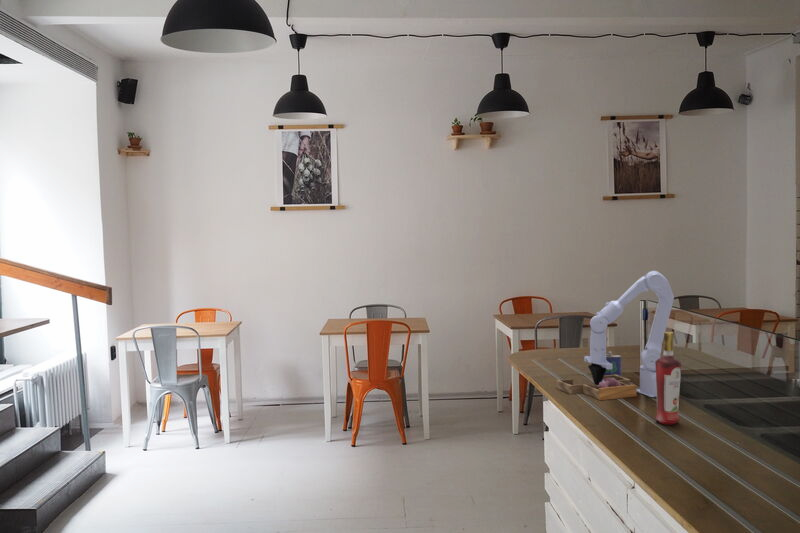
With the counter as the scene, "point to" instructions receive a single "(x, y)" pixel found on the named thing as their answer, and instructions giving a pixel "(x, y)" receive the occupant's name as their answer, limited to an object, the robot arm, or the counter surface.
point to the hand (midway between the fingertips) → (597, 384)
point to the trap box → (602, 393)
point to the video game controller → (609, 383)
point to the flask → (613, 364)
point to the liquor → (668, 383)
